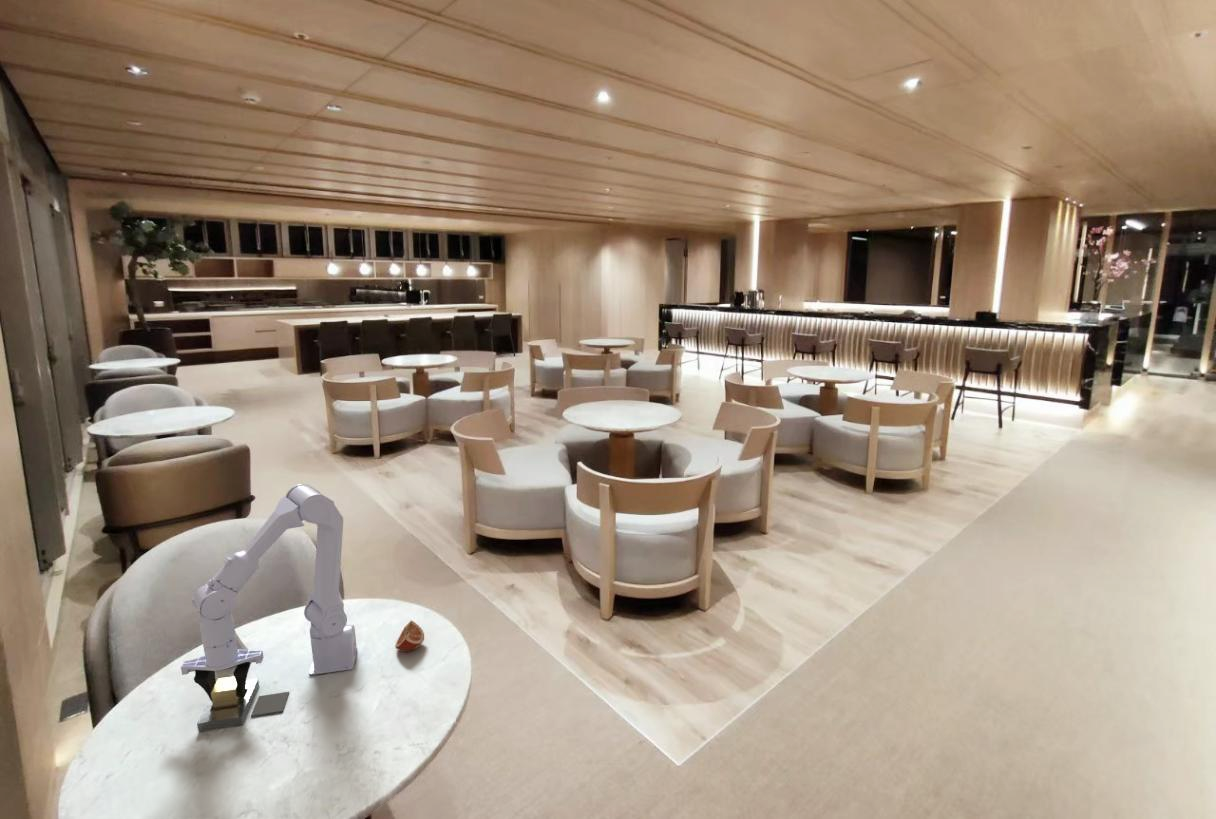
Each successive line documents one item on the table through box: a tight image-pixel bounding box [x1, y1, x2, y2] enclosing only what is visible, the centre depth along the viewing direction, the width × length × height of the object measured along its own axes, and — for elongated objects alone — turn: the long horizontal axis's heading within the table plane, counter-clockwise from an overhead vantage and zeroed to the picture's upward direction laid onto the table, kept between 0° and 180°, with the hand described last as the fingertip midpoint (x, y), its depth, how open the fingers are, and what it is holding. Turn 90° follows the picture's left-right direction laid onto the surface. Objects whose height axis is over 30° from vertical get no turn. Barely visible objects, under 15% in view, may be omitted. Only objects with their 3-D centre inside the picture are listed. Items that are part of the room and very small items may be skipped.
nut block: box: [211, 675, 245, 711], centre depth 129 cm, size 4×4×6 cm
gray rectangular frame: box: [196, 678, 260, 733], centre depth 130 cm, size 8×12×2 cm, turn 15°
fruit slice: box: [395, 620, 425, 652], centre depth 150 cm, size 8×7×5 cm
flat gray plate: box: [250, 691, 290, 718], centre depth 131 cm, size 6×6×1 cm
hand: (228, 695), depth 129 cm, fingers closed on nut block, 5 cm apart
